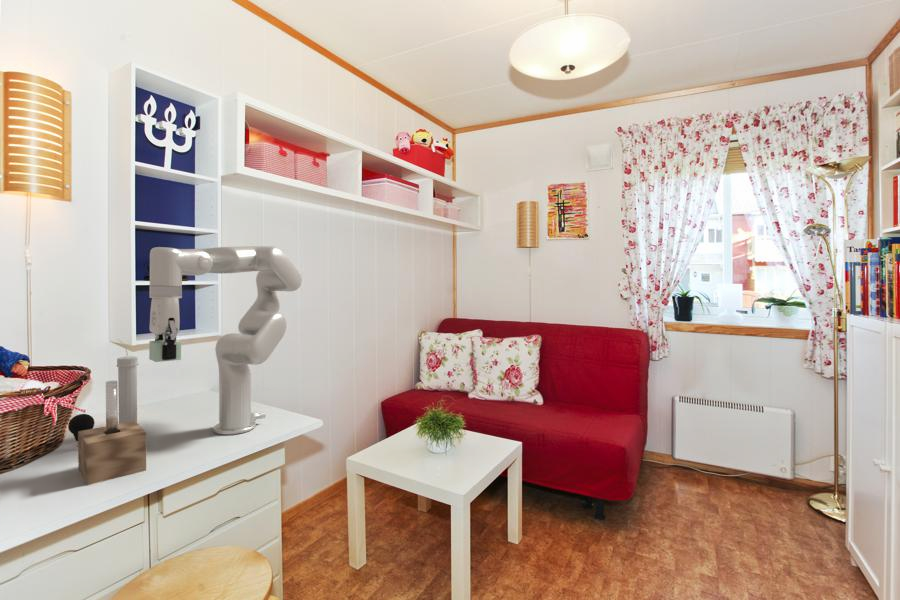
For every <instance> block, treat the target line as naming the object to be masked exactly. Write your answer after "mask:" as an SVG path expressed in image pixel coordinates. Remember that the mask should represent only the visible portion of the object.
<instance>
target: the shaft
mask: <svg viewBox="0 0 900 600" xmlns="http://www.w3.org/2000/svg"><path fill="white" fill-rule="evenodd" d="M118 424H119V396H118V380H107V381H105V426H106V435H107V434H113V433H118Z"/></svg>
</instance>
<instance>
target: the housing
mask: <svg viewBox="0 0 900 600" xmlns="http://www.w3.org/2000/svg"><path fill="white" fill-rule="evenodd" d="M137 423H138V422H137ZM137 423H135V422H134V421H133V422H127V423H122V424H119V423H118V433H113V434H107V435H106V425H105V426H102V427H101V426H99V427H95V428H94V427H93V429H89V430H83V431H78V447H77V449H78V450H77V451H78V453H77V454H78V457H77V458H78V459H77V460H78V461H77V462H78V471H79V473H80V475H81V477H82V479H83V481H84V482H85V484H86V485H87V486H89V485H93V484H98V483H101V482H105V481H109V480H113V479H117V478H120V477H121V478H122V477H125V476H129V475H134V474H136V473H140V472H144V471H147V432H146V431H145V430H144V429H143V428H142V427H141V426H140V424H139V423H138V424H139V425H138V424H137Z"/></svg>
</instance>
